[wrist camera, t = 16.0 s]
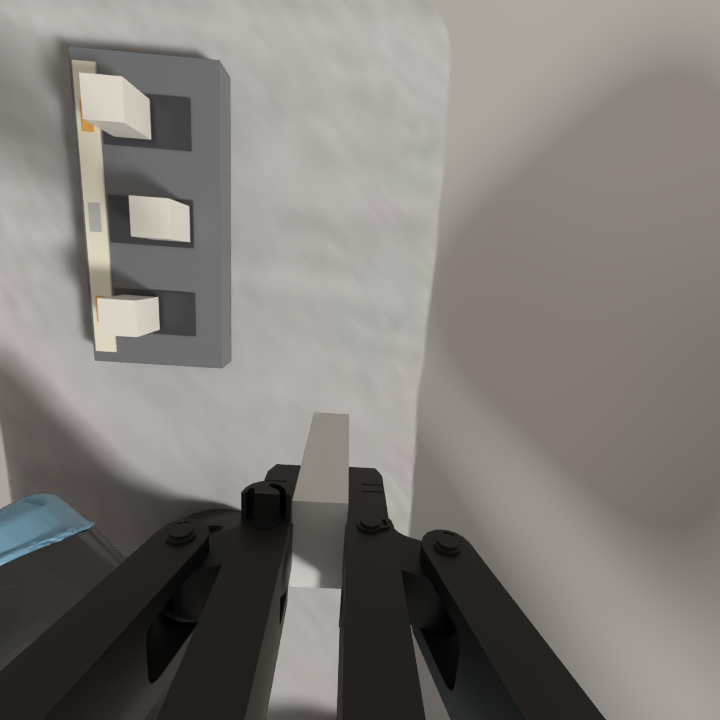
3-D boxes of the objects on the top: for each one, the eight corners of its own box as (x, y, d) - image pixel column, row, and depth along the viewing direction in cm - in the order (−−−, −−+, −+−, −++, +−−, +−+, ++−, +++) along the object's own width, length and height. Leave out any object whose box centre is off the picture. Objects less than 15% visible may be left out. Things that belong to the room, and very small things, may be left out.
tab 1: (151, 139, 33) (124, 122, 29) (114, 136, 33) (82, 119, 29) (149, 99, 32) (121, 76, 28) (111, 95, 32) (78, 72, 28)
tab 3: (190, 242, 35) (170, 239, 31) (155, 239, 35) (130, 236, 31) (189, 206, 34) (168, 198, 30) (153, 203, 34) (128, 195, 30)
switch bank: (231, 361, 41) (221, 369, 38) (113, 353, 41) (93, 361, 37) (230, 77, 35) (218, 58, 32) (92, 64, 35) (65, 44, 31)
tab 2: (159, 329, 37) (137, 337, 33) (126, 327, 36) (99, 334, 32) (158, 296, 36) (134, 300, 32) (124, 294, 36) (96, 298, 32)
